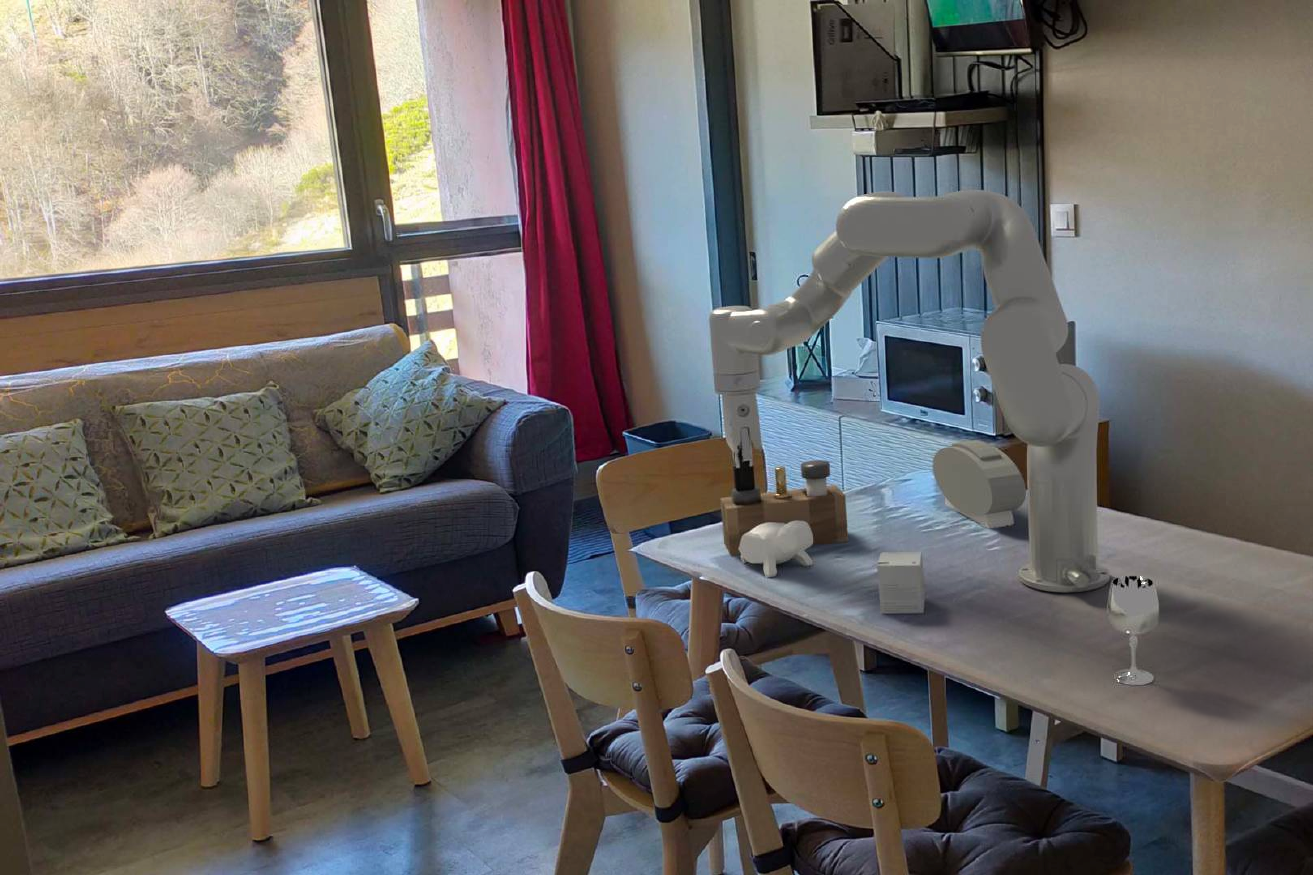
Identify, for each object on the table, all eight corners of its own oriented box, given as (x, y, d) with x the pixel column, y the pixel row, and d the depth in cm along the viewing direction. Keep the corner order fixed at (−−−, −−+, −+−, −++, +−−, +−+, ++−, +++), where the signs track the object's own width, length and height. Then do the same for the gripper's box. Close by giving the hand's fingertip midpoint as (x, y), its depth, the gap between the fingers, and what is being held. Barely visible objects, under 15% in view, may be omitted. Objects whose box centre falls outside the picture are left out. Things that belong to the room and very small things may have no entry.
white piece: (741, 584, 207) (791, 571, 194) (726, 534, 208) (775, 518, 195) (783, 572, 211) (835, 558, 198) (768, 522, 212) (819, 505, 199)
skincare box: (925, 599, 185) (923, 550, 183) (923, 614, 179) (921, 564, 177) (882, 599, 186) (880, 551, 184) (879, 614, 180) (876, 564, 179)
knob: (835, 517, 214) (832, 465, 212) (807, 520, 214) (804, 468, 212) (829, 510, 219) (825, 459, 217) (801, 513, 218) (798, 462, 217)
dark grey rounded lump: (766, 542, 214) (762, 491, 212) (738, 546, 214) (733, 494, 212) (761, 534, 219) (757, 484, 217) (733, 538, 218) (729, 487, 216)
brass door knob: (792, 497, 214) (790, 469, 213) (774, 499, 213) (772, 471, 212) (789, 493, 217) (786, 464, 216) (771, 495, 216) (769, 466, 215)
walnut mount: (848, 541, 214) (845, 495, 212) (730, 555, 213) (726, 508, 211) (838, 529, 221) (835, 484, 219) (724, 542, 219) (720, 498, 218)
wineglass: (1107, 685, 151) (1105, 589, 148) (1109, 666, 156) (1107, 573, 154) (1159, 688, 149) (1159, 591, 146) (1159, 669, 154) (1158, 574, 152)
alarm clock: (1028, 529, 212) (1025, 454, 209) (993, 534, 211) (991, 459, 208) (965, 496, 234) (962, 428, 231) (934, 500, 233) (930, 432, 230)
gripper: (767, 387, 203) (775, 498, 207) (751, 372, 218) (759, 476, 222) (720, 392, 203) (729, 503, 207) (708, 376, 217) (716, 480, 221)
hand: (744, 489), depth 214 cm, fingers closed
